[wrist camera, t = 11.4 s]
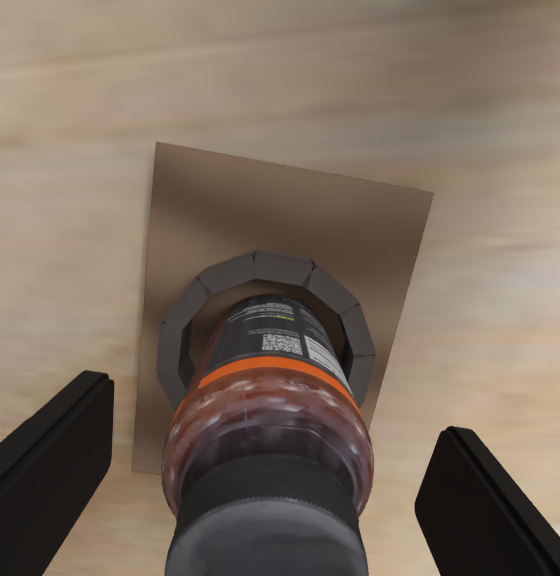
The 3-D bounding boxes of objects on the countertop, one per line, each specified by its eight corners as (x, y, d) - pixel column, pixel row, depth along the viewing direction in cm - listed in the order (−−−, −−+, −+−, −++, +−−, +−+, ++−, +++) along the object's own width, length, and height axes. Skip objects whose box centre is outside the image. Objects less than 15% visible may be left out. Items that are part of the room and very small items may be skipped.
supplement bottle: (241, 409, 18) (187, 725, 7) (194, 315, 17) (37, 525, 6) (343, 372, 18) (454, 649, 7) (303, 271, 16) (361, 410, 5)
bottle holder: (165, 146, 16) (137, 131, 13) (422, 193, 17) (457, 191, 13) (139, 455, 20) (115, 501, 17) (345, 483, 21) (357, 531, 18)
